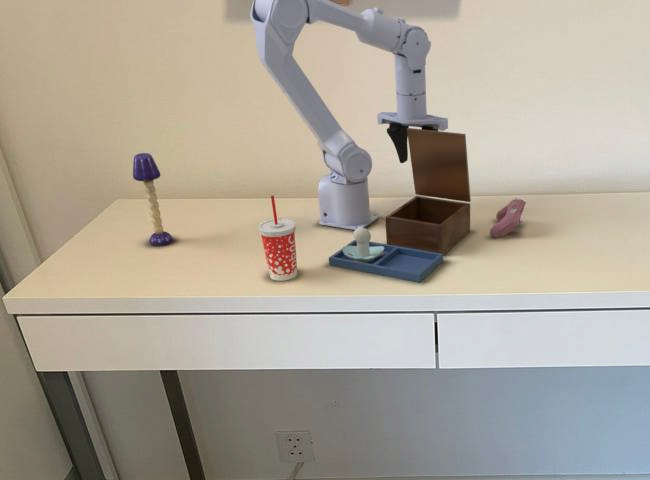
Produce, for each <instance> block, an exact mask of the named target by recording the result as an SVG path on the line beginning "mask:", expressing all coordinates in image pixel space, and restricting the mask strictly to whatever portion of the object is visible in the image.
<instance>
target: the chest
mask: <svg viewBox="0 0 650 480" xmlns="http://www.w3.org/2000/svg"><path fill="white" fill-rule="evenodd" d="M384 221H385V235H386V237H385V238H386V244H388V245H393V246H399V247H405V248H411V249H417V250H423V251H428V252H434V253H440V254H443V256H444V255H446V253H448V252H449V251H450V250H452V249H453V248H454V247H455V246H456V245H457V244H458V243H459V242H460V241H462V240H463V239H464V238H465V237H466V236H467V235H468V234H469V233H470V232H471V203H470V202H464V201H457V200H450V199H443V198H436V197H429V196H422V195H415V196H414V197H412V198H410V199H409V200H408V201H406V202H405V203H403V204H401V206H399V207H398V208H396V209H395V210H393V211H392V212H390V213H388V214H387V215H386V216H385V217H384Z"/></svg>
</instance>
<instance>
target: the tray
mask: <svg viewBox="0 0 650 480" xmlns="http://www.w3.org/2000/svg"><path fill="white" fill-rule="evenodd" d="M345 246H357V242H356V241H355V239H354V240H352V241H351V242H349V243H348V244H347V245H345ZM375 246H383V247H384V251H383V253H384V254H383V255H382V256H380V257H378V258H375V260H373V261H371V262H365V263H363V262H358V261H355V260H354V259H351V258H349V257H347V256H346V255H345V254H344V253H343V250H342V248H341V249H339V250H338V251H336V252H335V253H334V254H332V255H330V256H329V257H328V266H330V267H335V268H341V269H346V270H351V271H357V272H362V273H367V274H372V275H378V276H383V277H388V278H394V279H399V280H404V281H410V282H415V283H421V282H422V281H424V280H425V279H426V278H427V277H428V276H429V275H431V274H432V272H435V270H436V269H437V268H438V267H439V266H441V265H442V264H443V263H444V255H443V254H440V253H434V252H428V251H423V250H417V249H411V248H405V247H399V246H393V245H388V244H387V243H382V242H376V241H375V242H374V241H371V240H370V241H369V247H375Z"/></svg>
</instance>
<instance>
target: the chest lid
mask: <svg viewBox="0 0 650 480" xmlns="http://www.w3.org/2000/svg"><path fill="white" fill-rule="evenodd" d="M407 134H408V138H407V142H408V150H409V155H410V163H411V173H412V179H413V186H414V187H413V188H414V193H415V194H414V195H415V196H421V197H429V198H436V199H443V200H450V201H457V202H464V203H470V202H471V201H472V198H471V187H470V175H469V173H470V172H469V162H468V161H469V160H468V148H467V136H466V133H459V132H451V131H441V130H438V131H432V130H423V129H422V128H411V127H409V128H408V129H407Z"/></svg>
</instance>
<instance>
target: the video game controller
mask: <svg viewBox="0 0 650 480" xmlns="http://www.w3.org/2000/svg"><path fill="white" fill-rule="evenodd" d="M526 203H527V202H526V201H524V199H521V198H518V197H515V199H513V198H512V199H511V201H509V202H508V204H506V206H504V207H502V208H501V209H499V211H497V213H496V217H495V219H496V220H497V221H498V222H497V223H496V222H495V224H493V225H492V227H491V228H490V229H489V235H490V236H491V238H501V237H504V236H505V235H507V234H512V232H513V231H514V230H515V228H516V227H517V226H518V227H520V226H521V225H522V223H523V219H521V218H522V215H523V211H524V209H525V207H526Z"/></svg>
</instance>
